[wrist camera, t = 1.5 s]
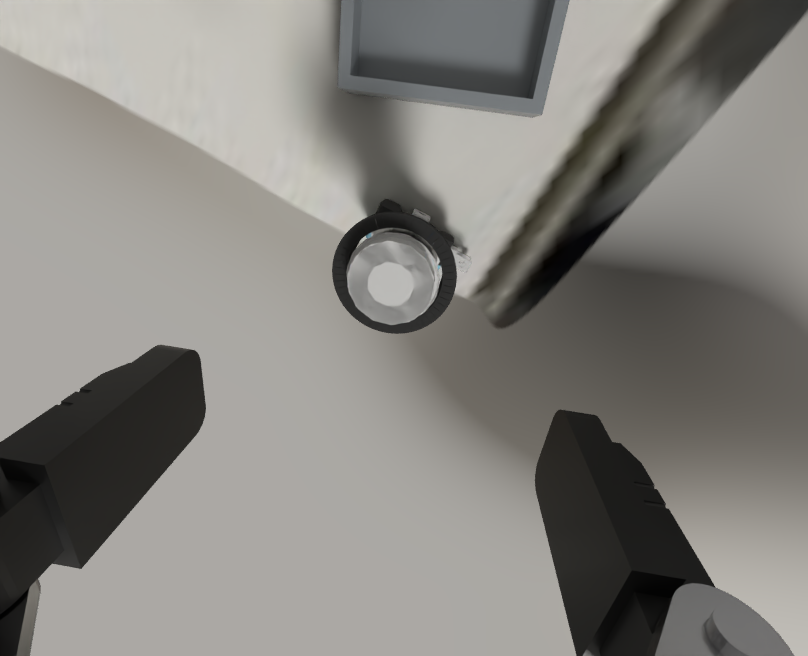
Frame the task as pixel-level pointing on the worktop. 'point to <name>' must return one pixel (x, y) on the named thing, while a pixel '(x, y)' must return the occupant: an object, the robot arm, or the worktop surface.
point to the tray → (452, 51)
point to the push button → (396, 270)
